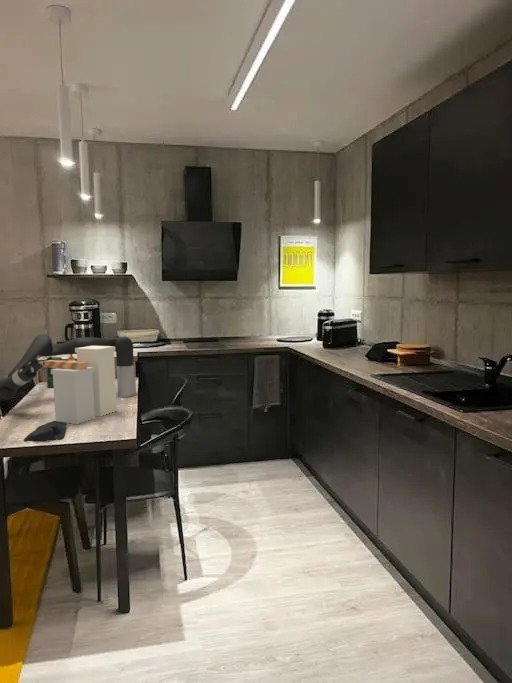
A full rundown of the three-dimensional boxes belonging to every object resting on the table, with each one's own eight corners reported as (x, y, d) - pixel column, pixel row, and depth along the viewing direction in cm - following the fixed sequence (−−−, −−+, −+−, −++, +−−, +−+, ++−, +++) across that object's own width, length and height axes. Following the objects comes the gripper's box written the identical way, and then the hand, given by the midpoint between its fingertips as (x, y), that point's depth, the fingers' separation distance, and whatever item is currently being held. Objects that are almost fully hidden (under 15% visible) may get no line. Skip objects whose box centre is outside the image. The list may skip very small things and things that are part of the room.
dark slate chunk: (72, 426, 222) (72, 416, 222) (62, 441, 201) (61, 429, 200) (36, 429, 220) (35, 418, 219) (21, 444, 198) (20, 432, 198)
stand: (78, 414, 243) (74, 348, 240) (96, 408, 254) (92, 345, 251) (101, 417, 237) (97, 349, 234) (118, 411, 248) (115, 346, 245)
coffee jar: (46, 388, 310) (44, 358, 309) (48, 386, 318) (46, 357, 316) (63, 387, 313) (61, 357, 311) (64, 385, 321) (62, 356, 319)
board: (44, 367, 234) (44, 361, 234) (51, 366, 238) (51, 359, 238) (80, 369, 225) (80, 363, 225) (87, 368, 229) (87, 362, 228)
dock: (54, 421, 230) (50, 369, 227) (73, 415, 241) (71, 365, 238) (77, 424, 224) (74, 371, 221) (96, 418, 235) (93, 367, 232)
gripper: (8, 370, 237) (28, 354, 231) (33, 365, 250) (53, 350, 243) (14, 384, 236) (35, 368, 230) (39, 379, 249) (59, 364, 243)
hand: (44, 359), depth 237 cm, fingers open, 8 cm apart
